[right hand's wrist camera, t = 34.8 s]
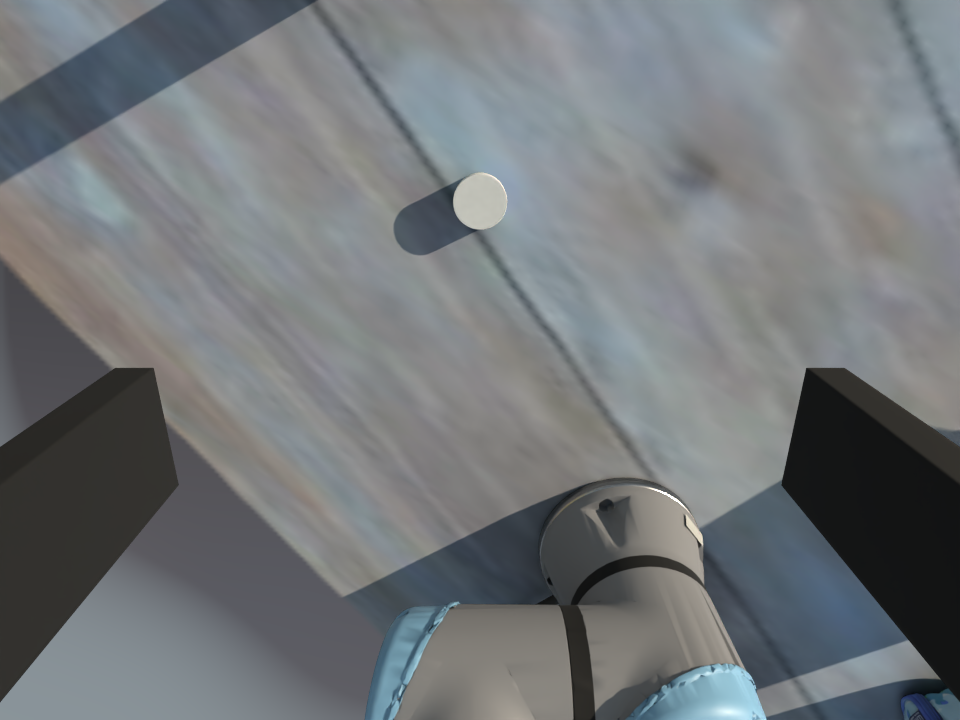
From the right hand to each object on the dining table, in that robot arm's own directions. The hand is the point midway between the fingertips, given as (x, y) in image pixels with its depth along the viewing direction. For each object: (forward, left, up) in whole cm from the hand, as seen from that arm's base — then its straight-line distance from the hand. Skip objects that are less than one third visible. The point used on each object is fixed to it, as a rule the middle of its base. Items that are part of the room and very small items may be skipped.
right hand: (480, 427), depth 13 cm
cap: (0, 0, -36) cm, 36 cm away
